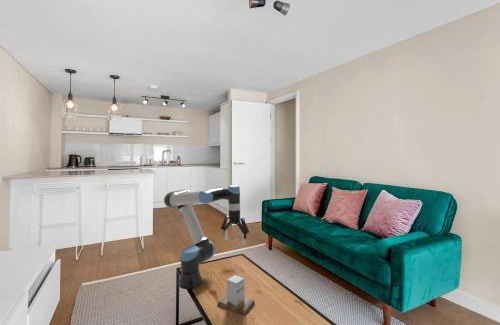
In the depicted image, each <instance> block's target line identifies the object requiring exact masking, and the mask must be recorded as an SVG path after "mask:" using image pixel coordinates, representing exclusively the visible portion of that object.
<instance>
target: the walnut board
mask: <svg viewBox="0 0 500 325" xmlns="http://www.w3.org/2000/svg"><path fill="white" fill-rule="evenodd" d="M254 304H255V299H253V298H249V297H246V296H244V300H243V301H242V302H240V303H239V304H238V305H234V304H232V303H230V302H228V301H227V292H226V293H225V294H224V295H223V296H221V298H219V299H217V306H219V307H223V308H226V309H228V310H231V311H234V312H237V313H239V314H243V315H246V314H247V313H248V311H249V310H251V308H252V307H253V306H254Z"/></svg>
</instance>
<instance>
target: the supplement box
mask: <svg viewBox="0 0 500 325" xmlns="http://www.w3.org/2000/svg"><path fill="white" fill-rule="evenodd" d="M226 293H227V301H228V302H230V303H232V304H234V305H238V304H239V303H240V302H242V301H243V300H244V297H245V278H244V277H241V276H239V275H236V274H234V275H233V276H231V277H229V278H227V279H226Z"/></svg>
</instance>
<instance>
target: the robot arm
mask: <svg viewBox="0 0 500 325" xmlns="http://www.w3.org/2000/svg"><path fill="white" fill-rule="evenodd" d="M221 200H226V201H228V203H227V204H228V214H227V215H225V216H224V220H223V222H222V225H221V227H220V229H221V230H222V231H223V236H224V241H225V242H226V241H229V240H228V239H229V231H228V228H229V227H230V226H231V225H232V224H233V225H236V226H237V227H238V228H239V229H240V231H241V232H242V233H241V236H242V237H241V240H242V242H241V244H242V245H245V244H246V240H247V234H249V233H250V230H249V228H248V227H249V226H248V225H247V223H246V220H245V218H244V217H241V189H240V186H239V185H234V184H231V185H228V187H221V186H219V187H215V188H214V189H213V188H212V189H209V190H208V189H207V190H203V191H202V190H201V191H194V192H193V191H191V190H189V189H181V190H176V191H169V192H168V193H167V194H165V196H164V198H163V203H164V206H166V207H167V208H169V209H174V208H177V210H178V211H179V212H181V214H182V216H183V219H184V222H185V223H186V224H185V225H186V228H188V232H189V234H190V236H191V239H192V241H193V243H192V245H188V246H186V247H184V248H183V249H182V250H180V276H179V279H178V287H179V288H180V289H183V290H190V289H189V288H193V289H195V288H194V287H196V288H198V287H199V285H200V284H201V285H202V284H203V277H202V275H201V272H200V265H201V264H202V263H204V262H206V261H209V260H210V259H212V258H213V256H214V255H215V254H216V245H215V243H214V242H212V241H211V240H209V238H208V237H206V236H205V234H204V232H203V229H202V226H201V225H200V222H199V220H198V217H197V215H196V213H195V210H194V204H195V205H197V204H210V203H213V202H217V201H221ZM201 285H200V286H201ZM197 286H198V287H197Z"/></svg>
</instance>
